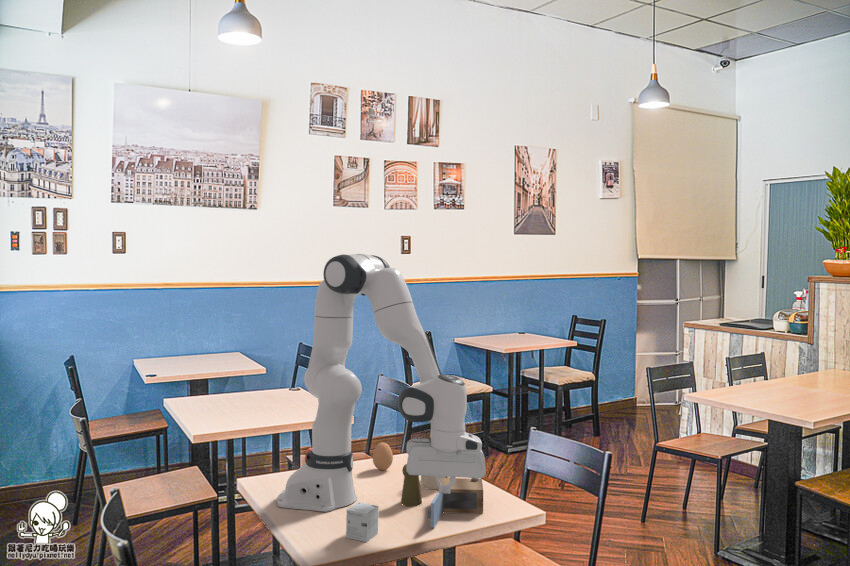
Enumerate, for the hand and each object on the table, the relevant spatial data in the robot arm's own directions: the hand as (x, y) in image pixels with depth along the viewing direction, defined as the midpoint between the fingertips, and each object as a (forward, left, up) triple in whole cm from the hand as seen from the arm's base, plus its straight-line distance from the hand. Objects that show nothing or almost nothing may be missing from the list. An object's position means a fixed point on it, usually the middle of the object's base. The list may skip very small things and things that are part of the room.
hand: (444, 492), depth 169 cm
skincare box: (-20, -5, -10) cm, 23 cm away
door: (-2, +5, -9) cm, 11 cm away
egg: (-20, +46, -10) cm, 51 cm away
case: (+5, +16, -9) cm, 19 cm away
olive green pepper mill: (-9, +18, -10) cm, 23 cm away
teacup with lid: (-3, +34, -10) cm, 36 cm away
